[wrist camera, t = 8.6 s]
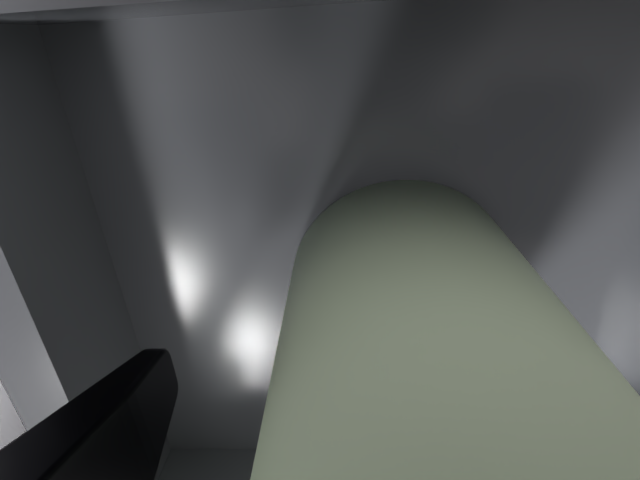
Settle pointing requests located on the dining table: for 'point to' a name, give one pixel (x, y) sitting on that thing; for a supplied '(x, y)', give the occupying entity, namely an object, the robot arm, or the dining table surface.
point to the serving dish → (288, 176)
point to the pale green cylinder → (435, 355)
